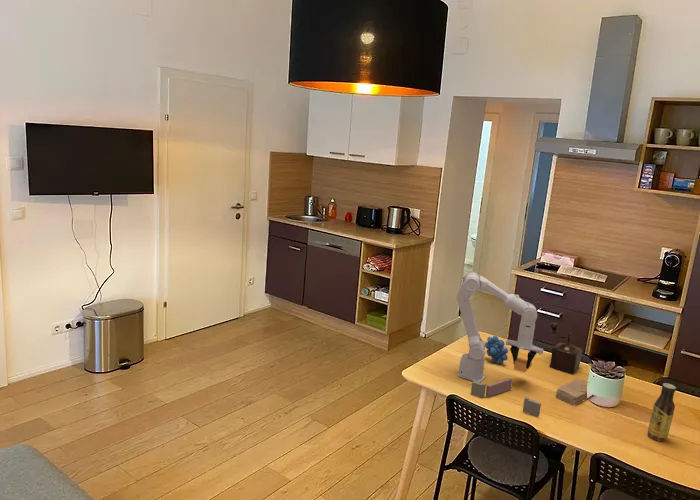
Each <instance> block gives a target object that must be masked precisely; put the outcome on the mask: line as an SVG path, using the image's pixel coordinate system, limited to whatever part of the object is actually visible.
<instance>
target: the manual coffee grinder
mask: <svg viewBox="0 0 700 500" xmlns="http://www.w3.org/2000/svg"><path fill="white" fill-rule="evenodd" d="M549 327H550V329H551V333H552V335H553V337H555V338H559V339H560V338H562V339H567V342H565V343H563V342H559V343H557V344H556V345H555V346H554V347H552V349H551V357H550V364H549V368H551V369H553V370H556V371H559V372H562V373H566V374H569V375H574V374H575V373H577V371H579V369H580V364H581V359H582V353H583V348H581V347H578V346H576V345H574V344H573V343H572V341H571V338H572V333H571V332H568V335H567V336H565V335H558V334H557V333H559V331H558V328H559V324H558V322H551V323H550V324H549Z"/></svg>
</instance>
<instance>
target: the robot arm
mask: <svg viewBox="0 0 700 500" xmlns="http://www.w3.org/2000/svg"><path fill="white" fill-rule="evenodd" d="M478 290H479V292H480V293H481V292H482V293H483V292H487V293H489V294H491V295H493V296H494V297H496V298H498V299H500V301H501V300H502V301H503V302H504V303H503V304H504V306H505V307H506V308H508V309H509V310H511V311H513V312H515V313H516V314H517V315H518V316H519V315H520V316H521V319H520V323H519V328H518V329H519V330H518V335H517V336H518V337H517V340H513V339H506V340H505V346H510V348H509V351H510V353H511V356H512V360H513V366H514V365H515V361H516V360H517V359H518V358H519V352H520V350H525V351H528V353H527V365H526V368H527V369H528V368H529V367H530V364H531V362H533V360H534V358H535V356H536V355H537V354H538V355H540V356H541V355H543V353H544V348H543V347H542V348H541V347H538V346H536V345H534V344H533V341H534V336H535V335H534V334H535V329H536V321H537V319H538V312H537V308H536V306H535V305H534V304H532V303H530V302H529V301H525V300H524V299H522V298H521V297H520V295H519V294H514V293H507V292H506V291H504V290H503V289H502V288H501V287H499V286H497V285H496V284H494V283H493V282H492V281H490V280H489V279H487V277H484V276H483V275H480V274H479V273H477V272H475V271H470V272H468V273H467V274H466V275H465V276H464V277H463V278H462V280H461V284H460V286H459V288H458V291H457V295H456V300H457V303H458V307H459V311H460V314H461V318H462V321H463V325H464V329H465V331H466V335H467V336H466V337H467V340H468V342H467V343H468V347H469V350H468V353H463V354H462V355H461V357H460V361H459V369H458V374H457V377H459V378H462V379H466V380H468V381H472V382H473V381H476V382H479V383H481V382H482V381H483V380H484V379H485V378H486V377H487V375H485V374H484V369H485V360H486V356H485V355H486V352H485V351H486V350H485V349H486V347H485V343H486V342H485V341H484V340H483V339H482V337H481V335H480V333H479V329H478V326H477V323H476V322H477V321H476V319H475V314H474V312H473V306H472V304H471V301H470V298H471V296H472V295H473V294H475V293H476V292H477V291H478ZM530 368H531V367H530ZM530 368H529V369H530ZM529 369H528V370H529Z"/></svg>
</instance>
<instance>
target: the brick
mask: <svg viewBox="0 0 700 500" xmlns="http://www.w3.org/2000/svg"><path fill="white" fill-rule="evenodd" d="M587 383H589V382H588V381H585V380H582V379H579V378H575V379H573V380H571V381H570V382H568V383H566V384H563V385H561V386H559V387H558V388H557V390H556V394H555V398H556V399H557V400H559V401H562V402H564V403H566V404H568V405H571V406H572V407H573V406H574V405H575V406H576V405H579V404H578V403H579V402H580V403H582V402H584V401H586V400H588V399H587ZM583 400H584V401H583Z"/></svg>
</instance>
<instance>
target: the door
mask: <svg viewBox="0 0 700 500" xmlns="http://www.w3.org/2000/svg"><path fill="white" fill-rule="evenodd" d="M512 383H513V378H511V377H509V378H506V379H502V380H499V381H495V382H492V383H490V384H486V389H485V397H486V398H491V397H493V396H497V395H499V394H502V393H505V392H507V391H511V390H512Z"/></svg>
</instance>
